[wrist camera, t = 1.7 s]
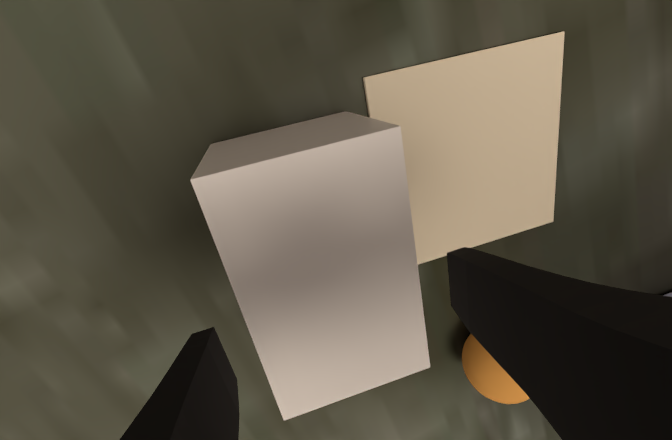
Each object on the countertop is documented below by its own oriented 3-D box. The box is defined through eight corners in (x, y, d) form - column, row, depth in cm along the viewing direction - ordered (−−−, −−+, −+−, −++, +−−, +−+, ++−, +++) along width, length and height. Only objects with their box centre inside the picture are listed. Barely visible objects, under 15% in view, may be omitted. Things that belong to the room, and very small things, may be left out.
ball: (508, 300, 22) (566, 347, 18) (508, 351, 24) (561, 405, 20) (445, 321, 21) (491, 376, 17) (450, 373, 23) (492, 433, 19)
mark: (560, 31, 17) (564, 31, 16) (550, 220, 21) (553, 221, 20) (362, 77, 15) (363, 77, 15) (393, 270, 19) (394, 272, 19)
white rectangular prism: (210, 144, 15) (190, 179, 9) (346, 111, 15) (400, 125, 10) (272, 321, 18) (283, 420, 13) (378, 287, 19) (430, 367, 14)
